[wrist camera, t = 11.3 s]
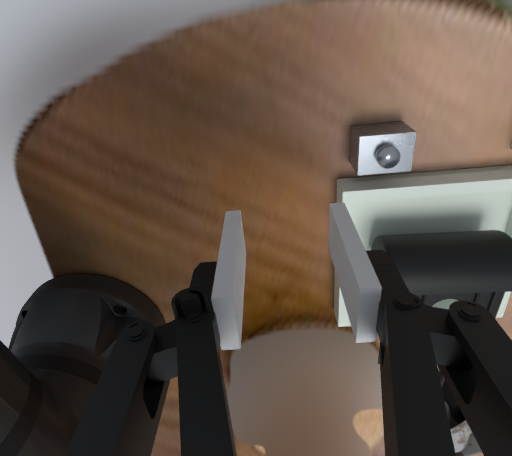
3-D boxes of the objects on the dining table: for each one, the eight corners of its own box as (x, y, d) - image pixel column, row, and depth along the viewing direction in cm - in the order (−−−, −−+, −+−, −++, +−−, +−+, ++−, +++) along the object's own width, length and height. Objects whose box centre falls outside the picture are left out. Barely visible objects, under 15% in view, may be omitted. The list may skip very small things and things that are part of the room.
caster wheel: (493, 340, 45) (477, 400, 48) (410, 355, 43) (400, 417, 46) (542, 380, 39) (520, 446, 42) (449, 400, 37) (434, 467, 40)
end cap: (486, 212, 32) (537, 258, 26) (467, 276, 35) (508, 328, 29) (371, 218, 32) (395, 264, 26) (363, 281, 36) (384, 333, 30)
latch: (349, 161, 30) (360, 179, 27) (350, 125, 29) (362, 140, 25) (398, 157, 30) (414, 175, 27) (402, 121, 28) (420, 135, 25)
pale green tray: (333, 308, 39) (338, 329, 36) (338, 126, 29) (345, 138, 26) (487, 299, 38) (504, 320, 35) (547, 108, 28) (576, 118, 25)
